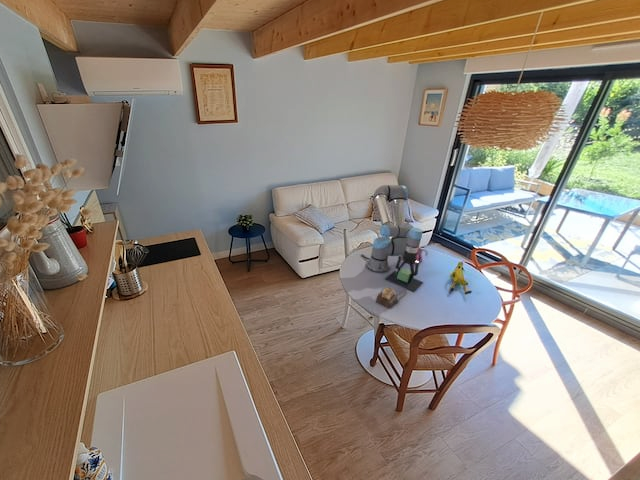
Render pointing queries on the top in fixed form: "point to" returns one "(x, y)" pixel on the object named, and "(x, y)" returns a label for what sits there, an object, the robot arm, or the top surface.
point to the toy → (419, 251)
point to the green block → (404, 274)
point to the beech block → (387, 293)
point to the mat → (411, 286)
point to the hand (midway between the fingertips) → (403, 280)
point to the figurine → (459, 278)
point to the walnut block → (386, 300)
